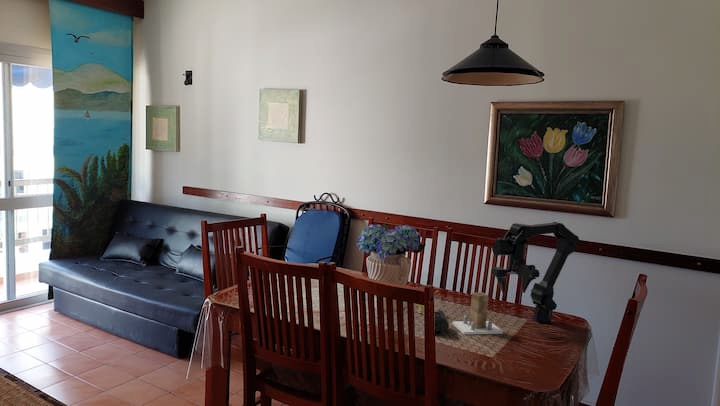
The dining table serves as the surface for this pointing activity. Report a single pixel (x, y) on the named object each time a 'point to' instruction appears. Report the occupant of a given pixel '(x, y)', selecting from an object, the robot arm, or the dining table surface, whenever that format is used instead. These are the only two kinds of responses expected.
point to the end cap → (441, 323)
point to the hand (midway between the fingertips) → (513, 292)
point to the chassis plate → (468, 329)
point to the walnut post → (479, 309)
